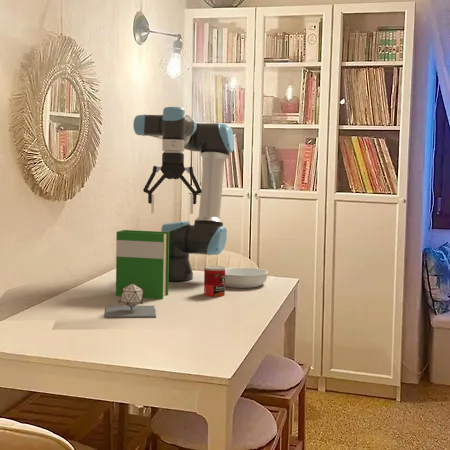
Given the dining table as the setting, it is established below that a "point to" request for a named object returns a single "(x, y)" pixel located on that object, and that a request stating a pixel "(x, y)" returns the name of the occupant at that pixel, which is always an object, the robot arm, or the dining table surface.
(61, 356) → the dining table surface
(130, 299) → the game die
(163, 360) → the dining table surface
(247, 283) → the serving bowl
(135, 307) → the mat
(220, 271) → the canned food
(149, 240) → the hardback book
